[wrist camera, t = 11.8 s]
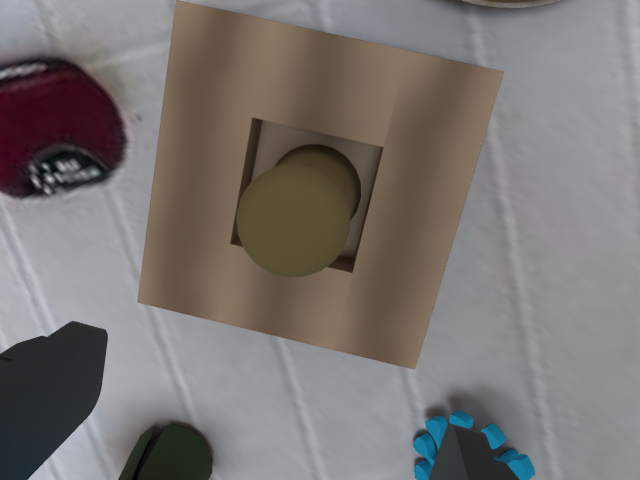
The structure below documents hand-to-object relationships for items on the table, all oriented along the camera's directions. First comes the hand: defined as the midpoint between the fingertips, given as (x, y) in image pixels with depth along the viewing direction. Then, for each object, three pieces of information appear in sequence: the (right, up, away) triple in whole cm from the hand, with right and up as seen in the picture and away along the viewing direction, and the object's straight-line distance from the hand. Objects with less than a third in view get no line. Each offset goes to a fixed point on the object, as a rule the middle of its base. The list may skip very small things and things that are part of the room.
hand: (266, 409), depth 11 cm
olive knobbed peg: (+1, +7, +20) cm, 22 cm away
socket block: (+1, +7, +21) cm, 22 cm away
